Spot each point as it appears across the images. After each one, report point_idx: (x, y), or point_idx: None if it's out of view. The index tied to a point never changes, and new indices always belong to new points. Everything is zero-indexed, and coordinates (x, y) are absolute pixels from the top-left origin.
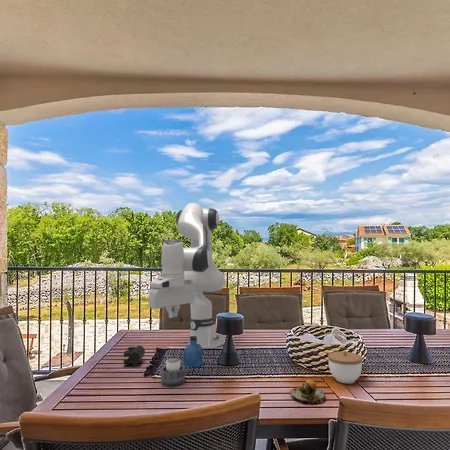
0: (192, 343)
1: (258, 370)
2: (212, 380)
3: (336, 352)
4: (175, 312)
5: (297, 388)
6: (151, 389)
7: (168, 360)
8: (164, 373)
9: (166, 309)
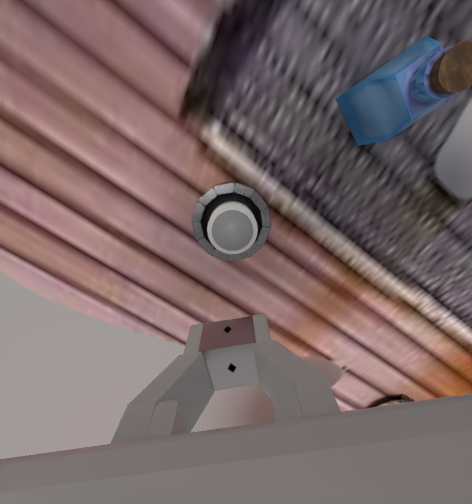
0: (417, 94)
1: (456, 276)
2: (319, 265)
3: None
4: (259, 373)
5: (402, 401)
6: (163, 228)
7: (216, 226)
8: (196, 236)
9: (137, 396)
